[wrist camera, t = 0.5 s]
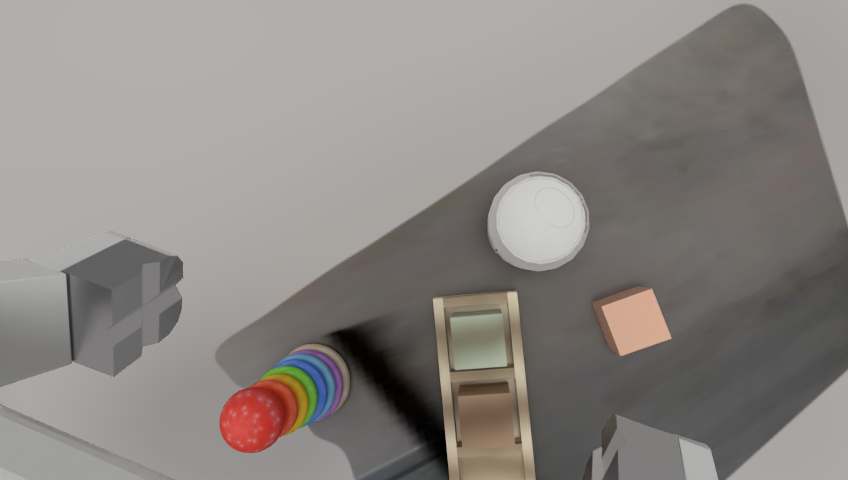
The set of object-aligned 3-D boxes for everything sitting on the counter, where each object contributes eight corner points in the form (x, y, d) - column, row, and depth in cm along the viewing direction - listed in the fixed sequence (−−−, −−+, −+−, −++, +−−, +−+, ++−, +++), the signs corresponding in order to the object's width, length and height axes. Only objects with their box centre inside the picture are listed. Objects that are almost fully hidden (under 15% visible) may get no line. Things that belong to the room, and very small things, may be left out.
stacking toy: (343, 335, 62) (284, 368, 44) (358, 408, 62) (305, 473, 43) (274, 350, 63) (186, 389, 44) (289, 422, 63) (207, 492, 44)
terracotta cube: (655, 331, 59) (671, 338, 54) (609, 348, 60) (620, 356, 55) (637, 285, 60) (651, 288, 55) (591, 302, 60) (601, 306, 55)
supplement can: (529, 174, 61) (544, 147, 46) (582, 233, 60) (614, 225, 45) (471, 225, 61) (467, 214, 46) (522, 284, 61) (535, 292, 46)
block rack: (537, 516, 60) (543, 545, 54) (456, 520, 61) (453, 549, 55) (515, 290, 61) (518, 293, 55) (435, 297, 61) (430, 301, 56)
